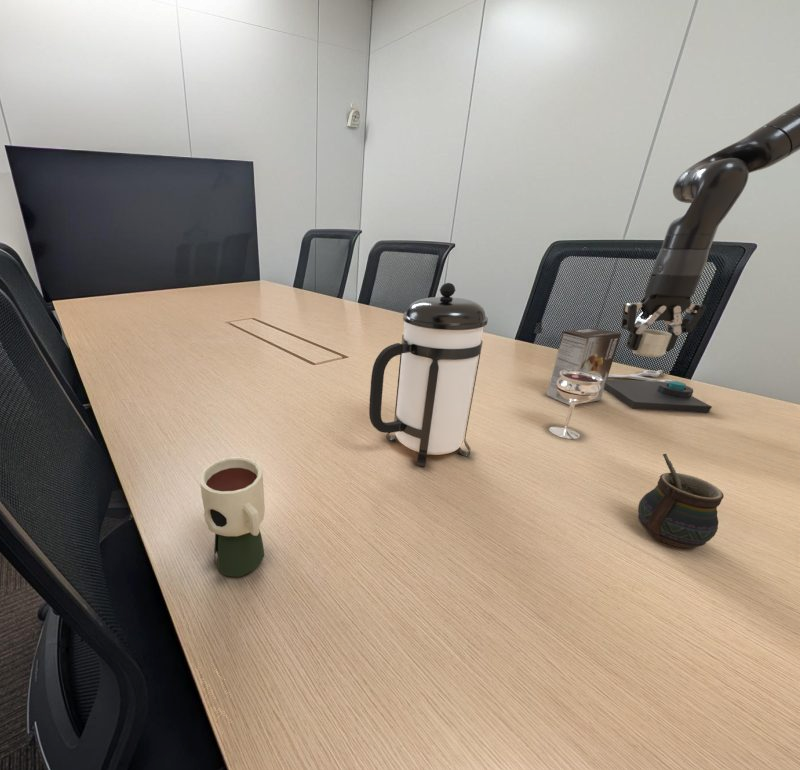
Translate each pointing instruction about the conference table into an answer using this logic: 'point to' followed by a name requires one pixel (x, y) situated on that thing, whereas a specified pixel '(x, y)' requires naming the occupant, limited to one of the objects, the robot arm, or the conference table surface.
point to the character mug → (234, 512)
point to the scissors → (645, 373)
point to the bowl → (653, 343)
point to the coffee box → (584, 356)
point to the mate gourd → (681, 509)
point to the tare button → (677, 385)
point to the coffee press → (432, 374)
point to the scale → (655, 396)
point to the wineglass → (576, 395)
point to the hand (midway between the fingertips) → (648, 349)
